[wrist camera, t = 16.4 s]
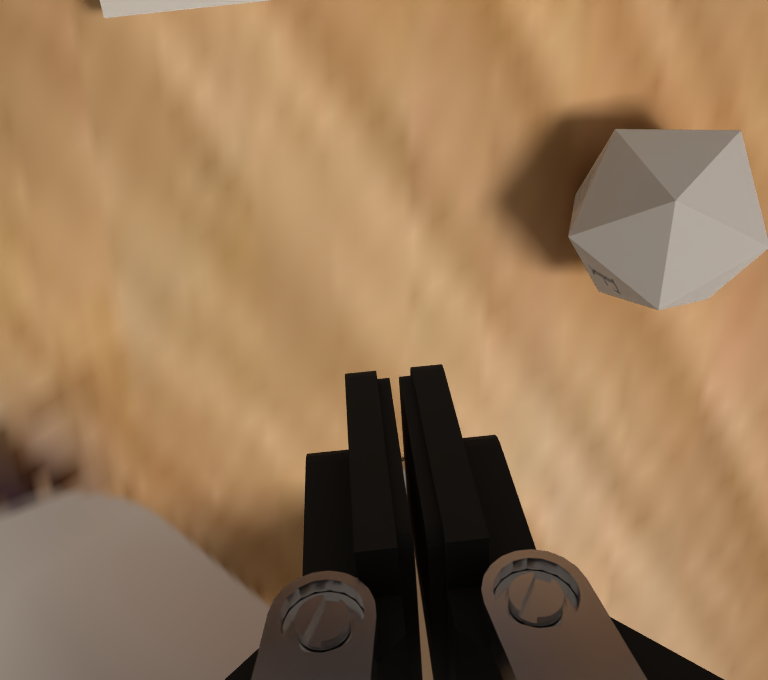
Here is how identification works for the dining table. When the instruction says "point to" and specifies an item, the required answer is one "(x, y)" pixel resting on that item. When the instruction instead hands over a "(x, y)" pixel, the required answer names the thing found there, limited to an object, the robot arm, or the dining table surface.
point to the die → (668, 215)
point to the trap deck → (158, 6)
